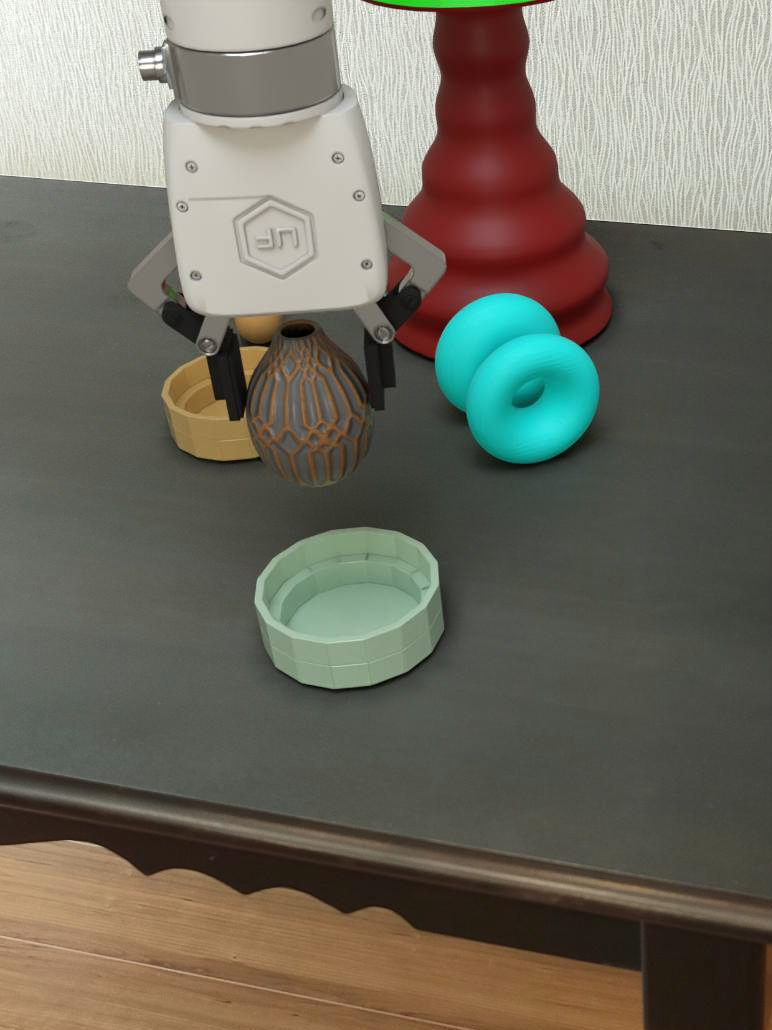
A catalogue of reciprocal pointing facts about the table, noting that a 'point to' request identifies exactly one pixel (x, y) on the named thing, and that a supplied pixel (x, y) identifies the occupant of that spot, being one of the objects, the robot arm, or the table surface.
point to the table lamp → (496, 184)
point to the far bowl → (207, 411)
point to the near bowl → (350, 607)
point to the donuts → (516, 378)
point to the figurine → (258, 328)
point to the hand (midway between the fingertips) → (308, 400)
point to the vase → (309, 407)
